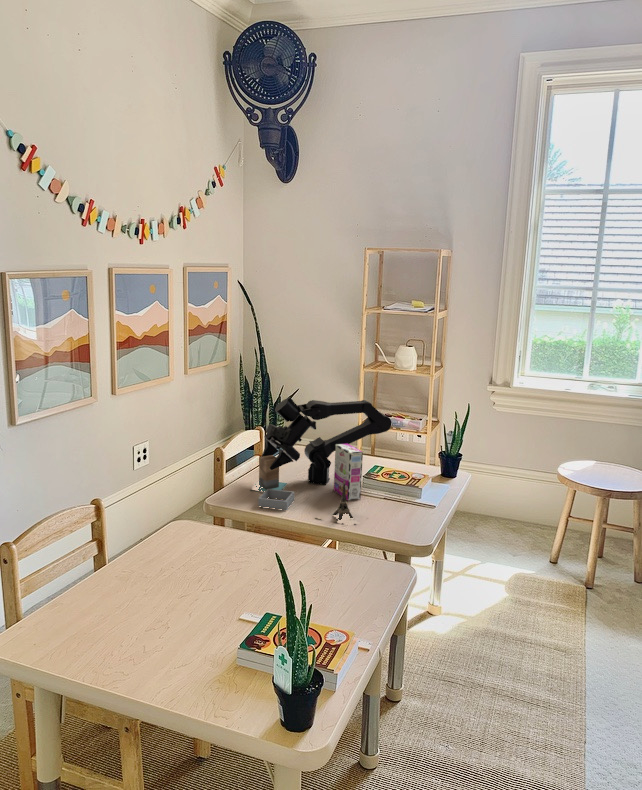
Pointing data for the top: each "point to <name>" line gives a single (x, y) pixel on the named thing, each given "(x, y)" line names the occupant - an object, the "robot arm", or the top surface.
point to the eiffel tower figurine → (343, 505)
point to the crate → (276, 503)
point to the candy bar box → (348, 471)
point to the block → (268, 473)
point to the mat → (281, 486)
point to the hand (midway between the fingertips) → (265, 465)
